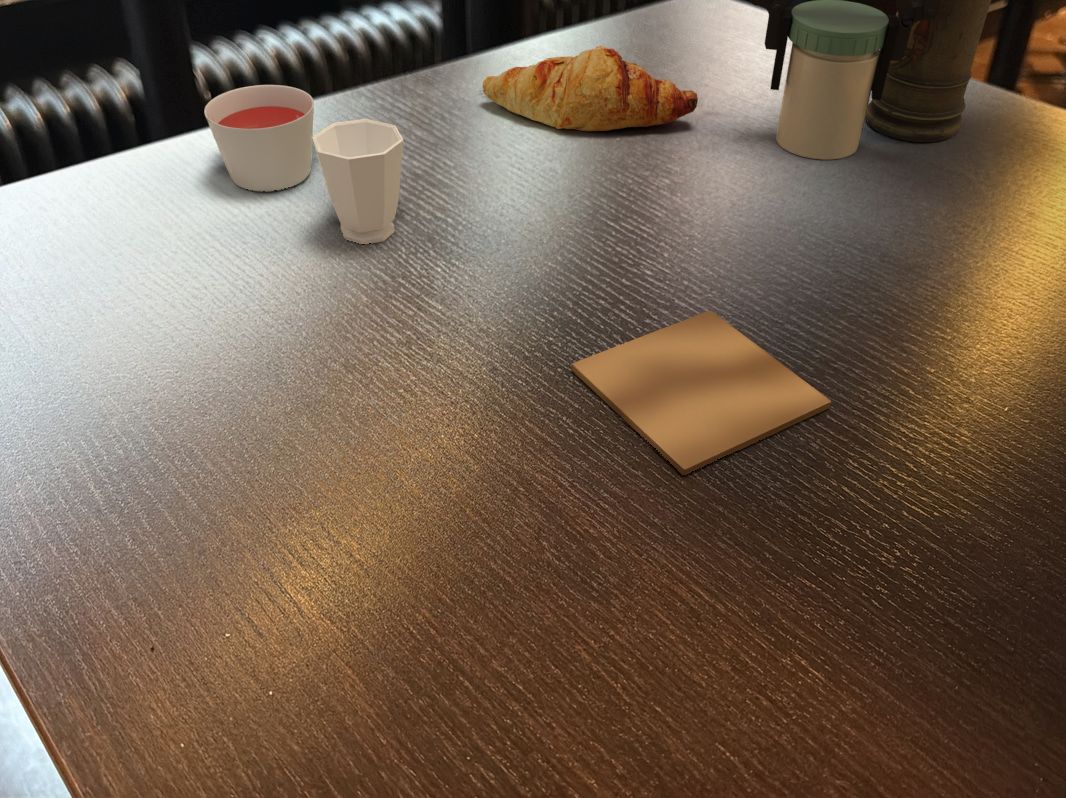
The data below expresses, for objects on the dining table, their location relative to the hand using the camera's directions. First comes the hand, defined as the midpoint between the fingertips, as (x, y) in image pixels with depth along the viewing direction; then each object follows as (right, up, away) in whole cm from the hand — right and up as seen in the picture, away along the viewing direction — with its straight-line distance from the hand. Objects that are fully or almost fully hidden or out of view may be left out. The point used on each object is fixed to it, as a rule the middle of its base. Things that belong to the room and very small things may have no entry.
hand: (825, 88), depth 91 cm
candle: (-50, -9, -3) cm, 50 cm away
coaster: (-16, -28, -25) cm, 41 cm away
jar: (0, -4, +3) cm, 5 cm away
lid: (0, +5, -4) cm, 6 cm away
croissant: (-21, 0, +8) cm, 23 cm away
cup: (-40, -14, -9) cm, 43 cm away
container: (+10, -1, +7) cm, 12 cm away
